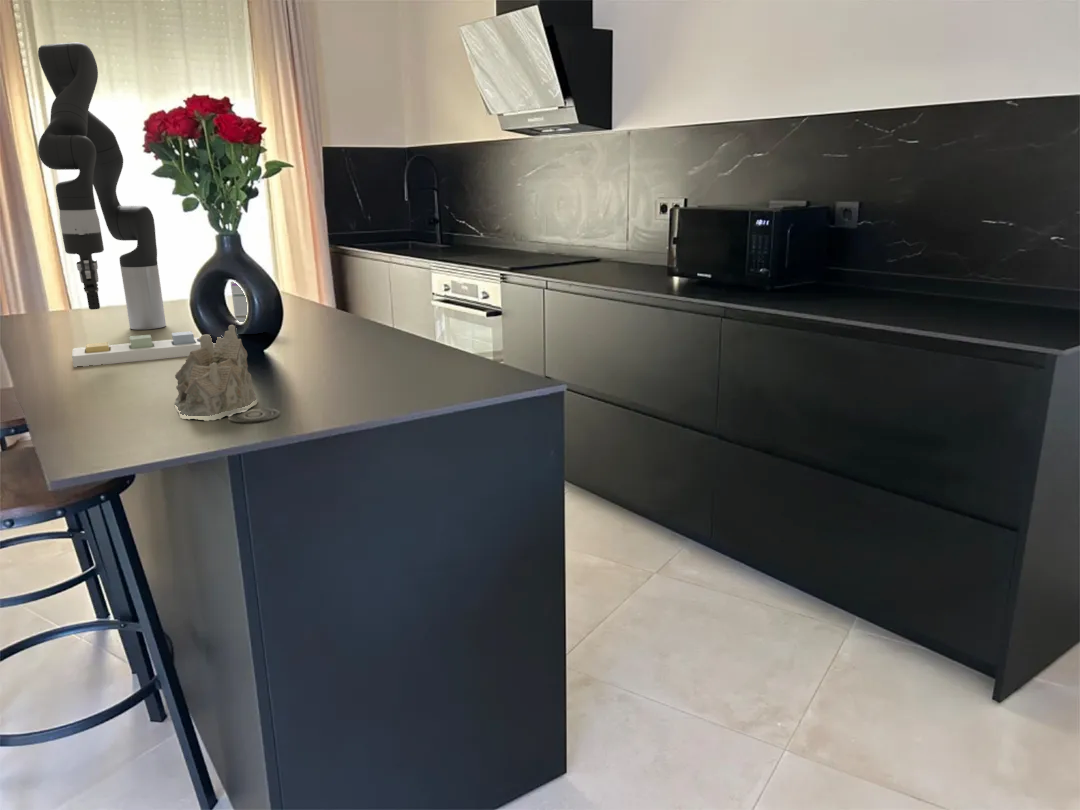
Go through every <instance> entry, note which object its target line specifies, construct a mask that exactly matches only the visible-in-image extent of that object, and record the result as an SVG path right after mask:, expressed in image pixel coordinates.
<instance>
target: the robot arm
mask: <svg viewBox="0 0 1080 810" xmlns="http://www.w3.org/2000/svg"><path fill="white" fill-rule="evenodd" d="M37 56H38V59H39V60H38V61H39V63H40V64H39V65H40V67H41V70H42V71H43V74H44V76H45V78H46V81H47V83H48V85H49V87H50V89H51V90H52V92H53V94H54V97H55V99H54V100H53V102H52V104H51V109H50V119H49V120H50V121H49V124H48V125H47V127H46V129H45V130H44V131H43V133H42V134H41V137H40V139H39V142H38V147H37V151H38V156H39V159H40V161H41V163H42V164H43V165H44V166H45V167H47V168H49V169H51V170H55V171H57V170H59V171H60V170H61V171H62V170H65V171H66V170H69V171H70V170H74V171H75V170H77V171H79V172H78V176H76V178H74V179H70V180H65V181H60V182H58V183H57V184H56V185H55V193H56V195H55V196H56V200H57V205H58V210H59V211H58V212H59V224H60V225H59V226H60V230H61V235H62V241H63V247H64V252H65V253H66V254H69V255H78V256H79V260H76V268H77V271H78V272H79V278H80V282H81V283H82V284H83V291H84V293H85V294H86V299H87V305H88V309H89V310H91V311H92V310H99V309H101V303H100V298H99V287H98V286H99V284H98V282H99V274H98V269H99V267H98V266H99V265H98V262H97V260H93V254H98V253H103V252H104V250H105V248H104V243H103V236H102V235H103V234H102V229H101V223H100V218H99V216H98V212H97V208H96V207H97V206H96V202H95V196H94V195H95V194H94V190H95V193H96V196H97V199H98V203H99V205H100V209H101V211H102V215H103V219H104V221H105V225H106V228H107V230H108V232H109V233H110V235H111V236H112V238H114V239H115V240H116V241H125V242H126V241H136V242H137V243H136V244H137V245H136V247H135V248H134V249H133V250H131V251H129V252H126V253H124V254H121V255H120V256H119V265H120V272H121V277H122V278H121V279H122V284H123V285H122V286H123V291H124V292H123V293H124V299H125V304H126V312H127V318H128V323H129V329H132V330H138V331H139V330H142V331H143V330H154V329H161V328H164V327H166V326H167V323H166V322H167V321H166V315H165V308H164V307H165V306H164V300H163V292H162V287H161V280H160V279H161V278H160V272H159V271H160V270H159V266H158V249H157V248H158V247H157V238H156V237H157V236H156V226H155V224H156V223H155V219H154V215H153V213H152V210H151V209H150V208H149V207H148V206H145V205H122V204H120V201H119V199H118V195H117V188H118V187H117V186H118V182H119V179H120V176H121V174H122V170H123V167H124V157H123V153H122V151H121V148H120V145H119V143H118V141H117V137H116V135H115V133H114V132H113V131H112V130H111V128H109V126H108V125H106V124H105V123H104V121H101V119H100V118H99V117H97V116H96V115H94V114H93V113H92V112H91V111H90V110H89V108H90V104H91V102H92V100H93V99H92V98H93V96H94V94H95V89H96V86H97V83H98V77H99V71H98V66H97V65H98V64H97V61H96V58H95V55H94V53H93V52H92V49H91V48H90V46H89V45H87V44H86V43H84V42H78V41H76V42H75V41H74V42H61V43H49V44H48V43H47V44H43V45H40V46H39V47H38V49H37Z"/></svg>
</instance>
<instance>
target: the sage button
mask: <svg viewBox="0 0 1080 810" xmlns="http://www.w3.org/2000/svg"><path fill="white" fill-rule="evenodd" d="M129 341H130V342H129V343H131V349H136V348H147V347H153V346H152V341H153V339H152V336H151V334H144V335H142V334H139V335H132V336H131V335H130V336H129Z"/></svg>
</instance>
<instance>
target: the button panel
mask: <svg viewBox="0 0 1080 810" xmlns="http://www.w3.org/2000/svg"><path fill="white" fill-rule="evenodd" d="M200 341H201V336H197V337H195V336H194V343H190V344H179V345H173V339H162V340H161V339H160V340H152V346H153V347H147V348H136V349H131V343H130V342H129V343H128V342H127V343H118V344H115V343H114V344H108V346H109V351H103V352H92V353H87V352H86V346H83V347H82V346H81V347H72V348H73V349H72V352H71V353H72V355H71V358H72V359H71V360H72V364H73V368H78V367H77V366H83V367H90V366H89V365H93V366H101V364H103V365H111V364H122V363H132V362H133V363H134V362H141V361H154V360H162V359H172V358H184V357H188V356H189V355H190V352H191V351H194V350H197V349H200V348H201V344H200ZM214 347H215V343H213V348H214Z"/></svg>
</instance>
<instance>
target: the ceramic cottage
mask: <svg viewBox="0 0 1080 810" xmlns="http://www.w3.org/2000/svg"><path fill="white" fill-rule="evenodd" d="M227 328H228V330H226V331H224V336H222V337H223V338H221V337H217V340H216V343H215V347H214V348H213V342H212V338H211V336H210V335H211V334H207V333H206V334H202V335H201V336H200V337H201V341H200V344H201V348H200V349H197V350H194V351H191V352H190V355H189V356H187V358H186V360H185V362H184V364H182V365H181V367H180V369H179V370H178V371H177V372H176V374H175V375H174V377H175V379H176V380H177V381H176V382H177V385H176V387H175V388H176V389H175V390H177V392H178V394H177V397H176V398H175V402H174V405H176V406H177V407H178V410H179V411H181V412H180V414H182V415H184V414H185V415H186V416H187V415H188V416H210V415H211V416H212V415H215V414H219V413H221V412H225V411H231V410H233V409H237V408H242V407H245V406H248V405H250V404H251V403H252V402H253V401H255V400H256V399H257V394H256V392H255V391H254V389H253V381H252V374H251V373H250V372H249V371H248V368H249V366H248V359H247V358H248V355H249V354H248V352H247V350H246V349H245V347H244V346H243V342H242V339H241V338H238V334H237V331H236V325H234V324H230V325H228V327H227Z"/></svg>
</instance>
